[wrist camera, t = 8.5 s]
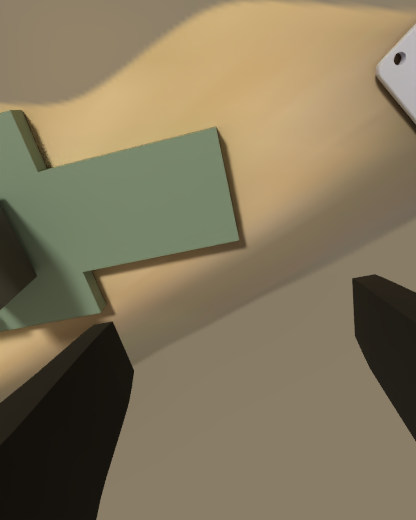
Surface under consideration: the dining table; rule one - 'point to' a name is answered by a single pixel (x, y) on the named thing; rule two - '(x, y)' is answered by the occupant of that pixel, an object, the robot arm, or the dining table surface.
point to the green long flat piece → (105, 214)
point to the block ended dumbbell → (12, 263)
